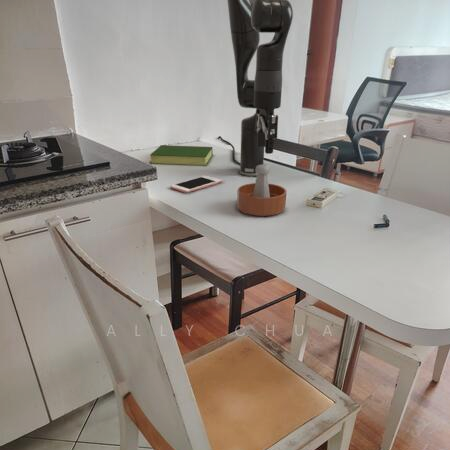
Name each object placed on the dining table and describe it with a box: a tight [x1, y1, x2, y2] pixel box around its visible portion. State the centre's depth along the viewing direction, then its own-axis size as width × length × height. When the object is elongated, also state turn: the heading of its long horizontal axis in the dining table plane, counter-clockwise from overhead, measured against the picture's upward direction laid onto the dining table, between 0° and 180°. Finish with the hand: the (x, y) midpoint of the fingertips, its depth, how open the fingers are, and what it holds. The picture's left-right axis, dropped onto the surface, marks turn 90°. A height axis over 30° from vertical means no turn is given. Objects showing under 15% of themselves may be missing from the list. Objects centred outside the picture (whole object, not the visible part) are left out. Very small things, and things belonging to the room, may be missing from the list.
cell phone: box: [170, 175, 222, 194], centre depth 151 cm, size 9×18×1 cm, turn 137°
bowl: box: [236, 182, 287, 217], centre depth 130 cm, size 15×15×6 cm
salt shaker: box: [252, 163, 271, 198], centre depth 128 cm, size 6×6×13 cm
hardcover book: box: [149, 144, 213, 167], centre depth 184 cm, size 25×19×4 cm
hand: (264, 149), depth 122 cm, fingers open, 8 cm apart
